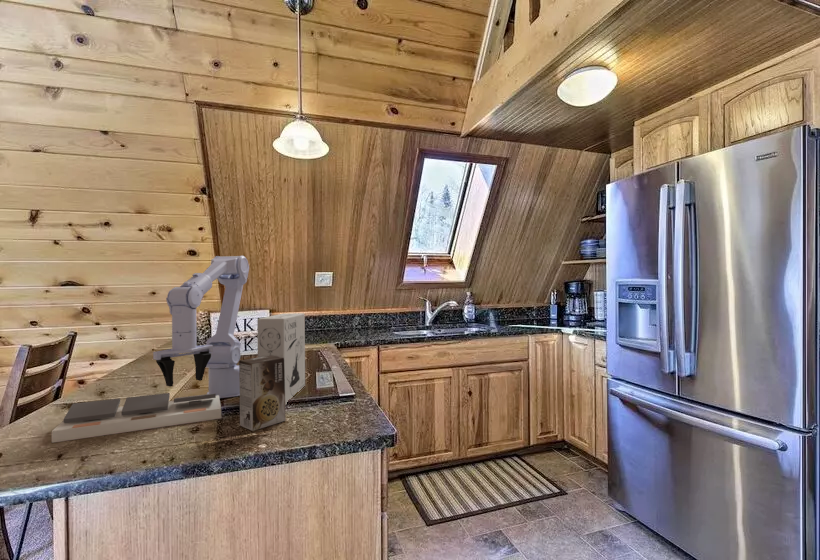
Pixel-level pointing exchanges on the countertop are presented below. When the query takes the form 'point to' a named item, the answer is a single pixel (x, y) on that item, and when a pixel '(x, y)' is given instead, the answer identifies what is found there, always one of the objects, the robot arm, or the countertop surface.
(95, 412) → the rocker outer
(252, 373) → the cookie box
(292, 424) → the countertop surface
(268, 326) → the cereal box
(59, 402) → the countertop surface
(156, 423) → the switch panel
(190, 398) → the rocker inner
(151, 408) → the rocker mid
